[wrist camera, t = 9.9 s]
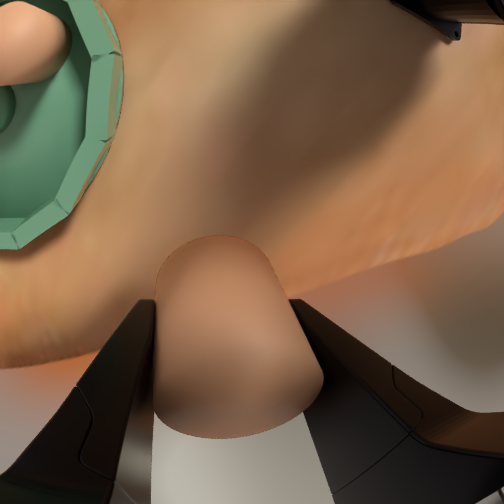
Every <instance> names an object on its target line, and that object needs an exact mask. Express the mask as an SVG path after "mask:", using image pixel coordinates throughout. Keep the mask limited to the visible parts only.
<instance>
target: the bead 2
mask: <svg viewBox="0 0 504 504" xmlns="http://www.w3.org/2000/svg"><path fill="white" fill-rule="evenodd" d="M322 385H323V372H322V370H321V368H320V365H319V363H318V361H317V359H316V357H315V355H314V353H313V351H312V349H311V347H310V344H309V342H308V340H307V338H306V336H305V334H304V332H303V330H302V328H301V326H300V324H299V321H298V319H297V317H296V315H295V313H294V311H293V309H292V307H291V305H290V303H289V301H288V299H287V297H286V295H285V292H284V290H283V288H282V286H281V284H280V282H279V280H278V278H277V276H276V274H275V272H274V270H273V268H272V266H271V264H270V262H269V260H268V258H267V257H266V256H265V254H264V253H263V252H262V251H261V250H260V249H259V248H257V247H256V246H254V245H253V244H251V243H249V242H247V241H245V240H242V239H239V238H235V237H231V236H208V237H203V238H199V239H196V240H193V241H191V242H188V243H186V244H184V245H183V246H181V247H179V248H178V249H177V250H175V251H174V252H173V253H172V254H171V255H170V256H169V257H168V258H167V259H166V260H165V262H164V263H163V265H162V267H161V268H160V271H159V273H158V276H157V280H156V292H155V320H154V345H153V408H154V411H155V413H156V415H157V416H158V418H159V419H160V420H161V421H162V422H163V423H164V424H166V425H167V426H169V427H170V428H172V429H174V430H176V431H178V432H181V433H183V434H187V435H191V436H195V437H201V438H212V439H227V438H236V437H244V436H249V435H254V434H258V433H261V432H264V431H267V430H270V429H273V428H275V427H277V426H280V425H282V424H284V423H286V422H288V421H290V420H291V419H293V418H294V417H296V416H297V415H299V414H300V413H302V412H303V411H304V410H305V409H307V408H308V407H309V406H310V405H311V404H312V403H313V401H314V400H315V399H316V398H317V396H318V395H319V393H320V391H321V389H322Z"/></svg>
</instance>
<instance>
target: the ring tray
mask: <svg viewBox="0 0 504 504" xmlns="http://www.w3.org/2000/svg"><path fill="white" fill-rule="evenodd" d="M16 1H22V2H26V3H28V4H30V5H33V6H35V7H37V8H40V9H42V10H44V11H46V12H48V13H50V14H53V15H55V16H57V17H59V18H61V19H63V20H64V21H65V22H67V24H68V25H69V27H70V29H71V32H72V47H71V50H70V53H69V56H68V58H67V60H66V62H65V63H64V65H63V66H62V67H61V68H60V70H59V71H58V72H57V73H55V74H54V75H53V76H52V77H50V78H49V79H47V80H45V81H42V82H38V83H27V84H15V85H5V86H0V249H16V250H18V249H19V248H20V249H21V248H22V247H23V246H25V245H26V244H28V243H29V242H30V241H32V240H33V239H34V238H36V237H37V236H39V235H40V234H42V233H43V232H44V231H46V230H47V229H49V228H50V227H52V226H53V225H55V224H56V223H58V222H59V221H61V220H62V219H64V218H65V217H67V216H68V215H69V214H70V212H71V211H72V210H73V208H74V207H75V206H76V205H77V203H78V202H79V201H80V199H81V197H82V195H83V193H84V191H85V189H86V188H87V187H88V185H89V184H90V183H91V182H92V180H93V178H94V177H95V175H96V174H97V172H98V170H99V169H100V167H101V166H102V164H103V161H104V159H105V157H106V155H107V153H108V151H109V149H110V146H111V144H112V141H113V139H114V136H115V133H116V129H117V125H118V122H119V118H120V114H121V107H122V101H123V94H124V65H123V56H122V51H121V46H120V41H119V38H118V35H117V33H116V30H115V27H114V25H113V23H112V21H111V19H110V18H109V16H108V14H107V12H106V11H105V10H104V9H103V8H102V6H101V5H100V3H99V0H0V7H1V6H3V5H5V4H8V3H11V2H16Z"/></svg>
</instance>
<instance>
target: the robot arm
mask: <svg viewBox="0 0 504 504" xmlns="http://www.w3.org/2000/svg"><path fill="white" fill-rule="evenodd" d="M390 1H391V2H392V3H393V4H395V5H396V6H398V7H400V8H402V9H404V10H406V11H407V12H409V13H411V14H413V15H414V16H416V17H418V18H419V19H421V20H423V21H424V22H426V23H428V24H429V25H431V26H432V27H434V28H435V29H437V30H438V31H440V32H441V33H443V34H444V35H446V36H447V37H449V38H450V39H452V40H455V41H458V40H460V38H461V26H462V23H471V24H496V25H504V0H390ZM454 34H455V35H454ZM288 301H289V303H290V305H291V307H292V309H293V311H294V313H295V315H296V317H297V319H298V321H299V324H300V326H301V328H302V330H303V332H304V334H305V336H306V338H307V340H308V342H309V344H310V347H311V349H312V351H313V353H314V355H315V357H316V359H317V361H318V363H319V365H320V368H321V370H322V372H323V385H322V389H321V391H320V393H319V395H318V396H317V398H316V399H315V400H314V401H313V403H312V404H311V405H310V406H309V407H308V408H307V409H305V410H304V411H303V413H304V416H305V419H306V422H307V425H308V428H309V431H310V434H311V436H312V439H313V442H314V445H315V448H316V450H317V453H318V456H319V459H320V462H321V465H322V468H323V471H324V474H325V476H326V479H327V482H328V485H329V487H330V491H331V493H332V494H333V495H332V497H333V500H334V503H335V504H504V412H492V413H479V412H478V413H477V412H473V411H469V410H466V409H464V408H463V407H460V406H459V405H457V404H455V403H453V402H452V401H450V400H448V399H446V398H444V397H443V396H441V395H440V394H438V393H436V392H434V391H433V390H431V389H429V388H427V387H426V386H424V385H423V384H421V383H419V382H418V381H416V380H415V379H413V378H412V377H410V376H409V375H407V374H406V373H404V372H403V371H401V370H400V369H398V368H397V367H396V366H394V365H391V363H390V362H388V361H387V360H385V359H384V358H383V357H381V356H380V355H379V354H377V353H376V352H374V351H373V350H371V349H370V348H369V347H367V346H366V345H364V344H363V343H362V342H360V341H359V340H357V339H356V338H355V337H353V336H352V335H350V334H349V333H347V332H346V331H345V330H343V329H342V328H341V327H339V326H338V325H336V324H335V323H334V322H332V321H331V320H329V319H328V318H327V317H325V316H324V315H323V314H321V313H320V312H318V311H317V310H316V309H314V308H313V307H311V306H310V305H309V304H307V303H306V302H304V301H303V300H301V299H288ZM154 320H155V301H154V300H153V299H140V300H139V301H138V302H137V303H136V304H135V306H134V307H133V308H132V309H131V311H130V312H129V313H128V315H127V316H126V317H125V319H124V320H123V321H122V322H121V324H120V325H119V326H118V328H117V329H116V330H115V332H114V333H113V334H112V336H111V337H110V338H109V340H108V341H107V342H106V344H105V345H104V346H103V348H102V349H101V350H100V352H99V353H98V355H97V356H96V357H95V359H94V360H93V361H92V363H91V364H90V366H89V367H88V368H87V370H86V371H85V373H84V374H83V375H82V377H81V378H80V380H79V381H78V382H77V384H76V386H77V387H74V388H73V389H72V391H71V392H70V394H69V395H68V397H67V398H66V399H65V401H64V402H63V404H62V405H61V406H60V408H59V409H58V411H57V412H56V413H55V414H54V416H53V417H52V418H51V419H50V420H49V422H48V423H47V424H46V425H45V427H44V428H43V429H42V430H41V431H40V432H39V434H38V435H37V436H36V437H35V438H34V440H33V441H32V442H31V443H30V444H29V445H28V446H27V448H26V449H25V450H24V451H23V452H22V454H21V455H20V456H19V457H18V458H17V460H16V461H15V462H14V463H13V464H12V465H11V466H10V467H9V468H8V469H7V470H6V471H5V472H3V473H2V474H1V475H0V504H151V462H152V440H153V424H154V408H153V345H154Z"/></svg>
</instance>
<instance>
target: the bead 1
mask: <svg viewBox="0 0 504 504" xmlns="http://www.w3.org/2000/svg"><path fill="white" fill-rule="evenodd" d="M71 47H72V32H71V29H70V27H69V25H68V24H67V22H65V21H64V20H63V19H61V18H59V17H57V16H55V15H53V14H50V13H48V12H46V11H44V10H42V9H40V8H37V7H35V6H33V5H30V4H28V3H26V2H22V1H16V2H11V3H8V4H5V5H3V6H1V7H0V86H5V85H15V84H27V83H38V82H42V81H45V80H47V79H49V78H50V77H52V76H53V75H54V74H55V73H57V72H58V71H59V70H60V68H61V67H62V66H63V65H64V63H65V62H66V60H67V58H68V56H69V53H70V50H71Z"/></svg>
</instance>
